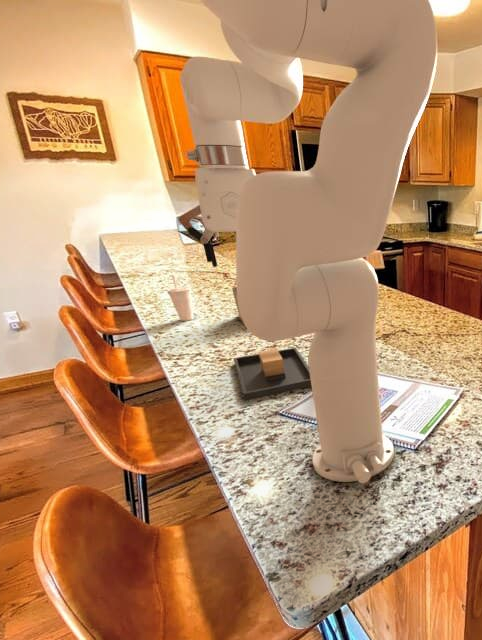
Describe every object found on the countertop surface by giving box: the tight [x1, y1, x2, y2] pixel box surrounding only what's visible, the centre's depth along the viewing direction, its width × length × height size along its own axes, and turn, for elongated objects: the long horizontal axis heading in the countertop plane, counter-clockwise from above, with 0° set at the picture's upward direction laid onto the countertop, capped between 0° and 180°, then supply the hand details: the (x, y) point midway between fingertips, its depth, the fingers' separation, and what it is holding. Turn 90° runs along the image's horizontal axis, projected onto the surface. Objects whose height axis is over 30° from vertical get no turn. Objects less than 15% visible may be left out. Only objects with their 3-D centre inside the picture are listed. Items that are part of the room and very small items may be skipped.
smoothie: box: [166, 274, 195, 322], centre depth 133 cm, size 6×6×14 cm
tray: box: [233, 347, 312, 402], centre depth 95 cm, size 21×14×2 cm
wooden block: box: [257, 348, 286, 382], centre depth 95 cm, size 7×4×4 cm, turn 30°
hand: (244, 263), depth 79 cm, fingers open, 9 cm apart
